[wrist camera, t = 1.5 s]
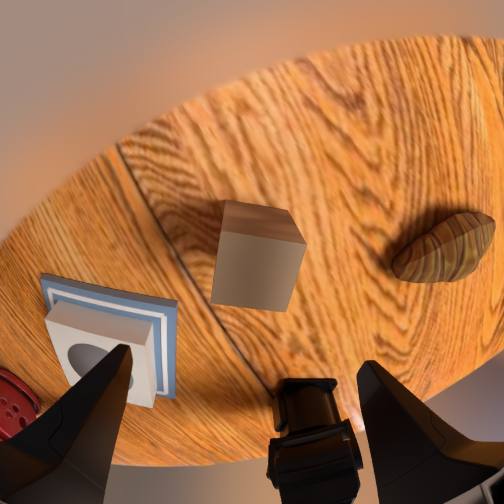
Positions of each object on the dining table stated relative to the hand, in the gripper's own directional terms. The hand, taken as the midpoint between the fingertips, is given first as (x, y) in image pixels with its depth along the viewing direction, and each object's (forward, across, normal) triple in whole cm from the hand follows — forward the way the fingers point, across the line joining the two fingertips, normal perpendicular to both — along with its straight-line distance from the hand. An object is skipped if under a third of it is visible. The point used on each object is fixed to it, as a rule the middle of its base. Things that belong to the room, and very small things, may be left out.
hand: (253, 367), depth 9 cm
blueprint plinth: (+12, +12, +14) cm, 22 cm away
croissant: (+12, -19, -2) cm, 23 cm away
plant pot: (+12, +36, +34) cm, 51 cm away
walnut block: (+12, -1, 0) cm, 12 cm away
